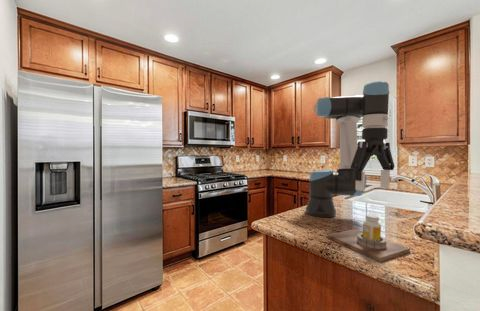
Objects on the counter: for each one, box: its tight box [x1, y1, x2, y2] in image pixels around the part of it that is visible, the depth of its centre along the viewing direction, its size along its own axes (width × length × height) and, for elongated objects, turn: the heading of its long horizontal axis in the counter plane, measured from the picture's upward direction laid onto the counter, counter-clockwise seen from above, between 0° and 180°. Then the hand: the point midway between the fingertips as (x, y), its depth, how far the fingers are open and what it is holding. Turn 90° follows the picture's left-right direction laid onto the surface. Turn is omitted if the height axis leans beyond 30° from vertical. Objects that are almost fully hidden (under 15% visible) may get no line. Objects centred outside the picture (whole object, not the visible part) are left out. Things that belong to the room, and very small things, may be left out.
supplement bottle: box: [362, 213, 382, 241], centre depth 77 cm, size 5×5×10 cm
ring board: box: [327, 228, 411, 262], centre depth 79 cm, size 20×16×3 cm
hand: (372, 189), depth 77 cm, fingers open, 13 cm apart
